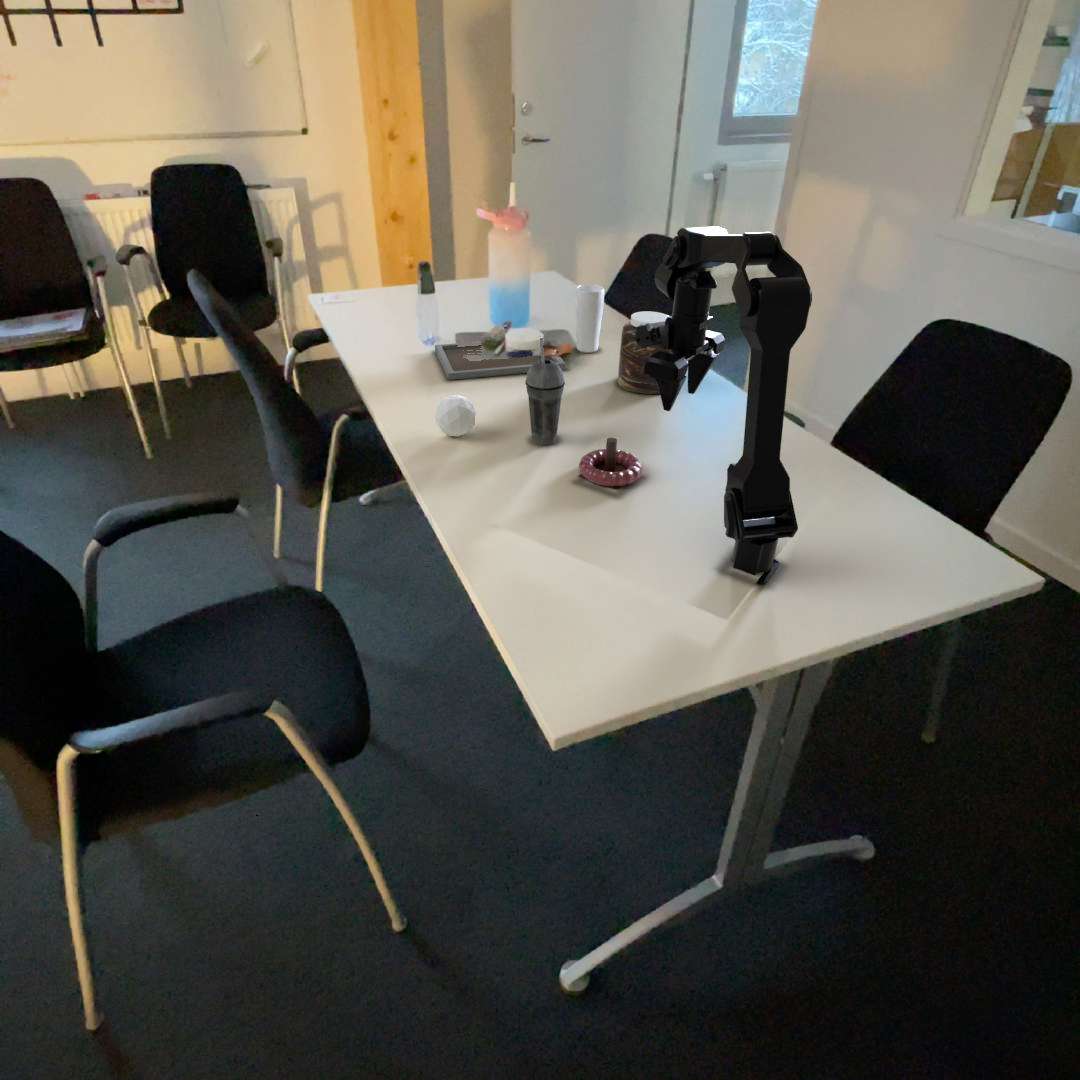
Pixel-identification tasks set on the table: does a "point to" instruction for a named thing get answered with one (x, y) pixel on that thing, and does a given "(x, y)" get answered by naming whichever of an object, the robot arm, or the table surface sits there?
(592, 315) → the drinking glass
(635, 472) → the ring
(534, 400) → the beverage cup
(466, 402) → the geometric ball
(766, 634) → the table surface
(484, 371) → the gray tray
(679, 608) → the table surface
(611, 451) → the stand
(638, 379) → the jar
